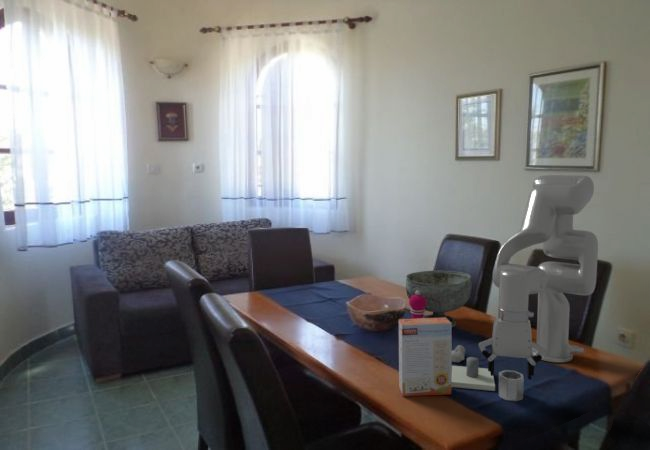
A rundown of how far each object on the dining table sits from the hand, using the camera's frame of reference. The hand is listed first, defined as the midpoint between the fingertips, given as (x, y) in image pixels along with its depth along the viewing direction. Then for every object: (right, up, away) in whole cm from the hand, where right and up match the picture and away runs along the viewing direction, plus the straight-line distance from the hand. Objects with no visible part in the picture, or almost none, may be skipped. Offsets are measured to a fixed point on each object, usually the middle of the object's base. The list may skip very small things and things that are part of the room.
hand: (510, 375), depth 138 cm
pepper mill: (-18, -2, +40) cm, 44 cm away
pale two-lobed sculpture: (-7, -3, +27) cm, 28 cm away
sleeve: (+1, -6, +1) cm, 6 cm away
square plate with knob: (-7, -5, +12) cm, 14 cm away
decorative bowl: (-6, +2, +63) cm, 64 cm away
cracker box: (-23, -6, +5) cm, 24 cm away
